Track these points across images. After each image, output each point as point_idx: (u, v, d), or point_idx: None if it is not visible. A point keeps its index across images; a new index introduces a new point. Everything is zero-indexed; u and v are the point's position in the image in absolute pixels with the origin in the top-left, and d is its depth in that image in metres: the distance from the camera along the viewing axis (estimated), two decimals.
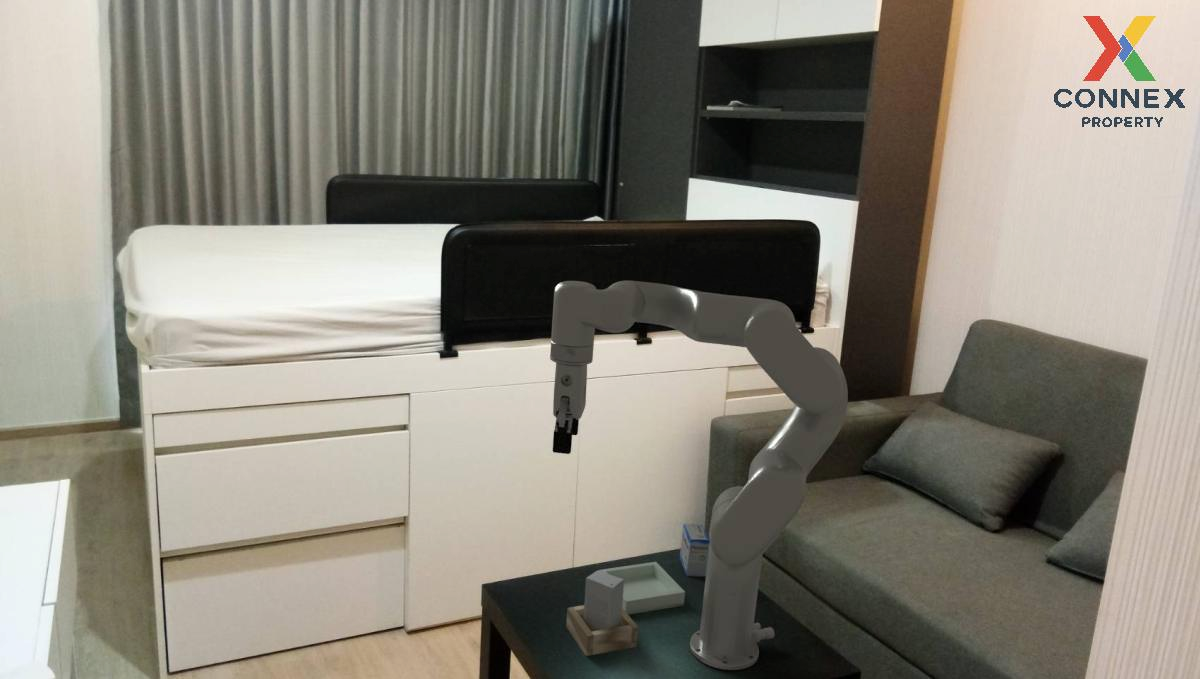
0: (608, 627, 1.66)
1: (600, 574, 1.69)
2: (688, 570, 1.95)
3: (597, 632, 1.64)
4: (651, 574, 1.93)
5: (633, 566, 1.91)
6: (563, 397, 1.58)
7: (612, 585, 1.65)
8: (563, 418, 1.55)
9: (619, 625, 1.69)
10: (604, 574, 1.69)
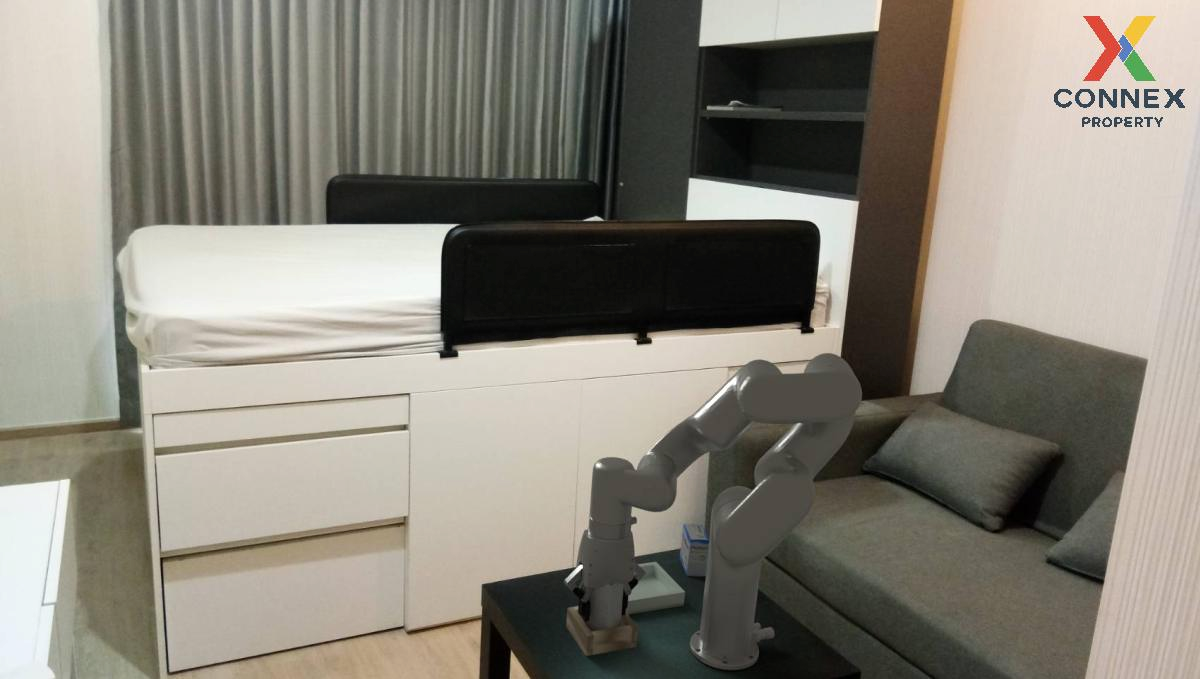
0: (608, 627, 1.66)
1: None
2: (688, 570, 1.95)
3: (597, 632, 1.64)
4: (651, 574, 1.93)
5: None
6: None
7: (612, 585, 1.65)
8: None
9: (619, 625, 1.69)
10: None
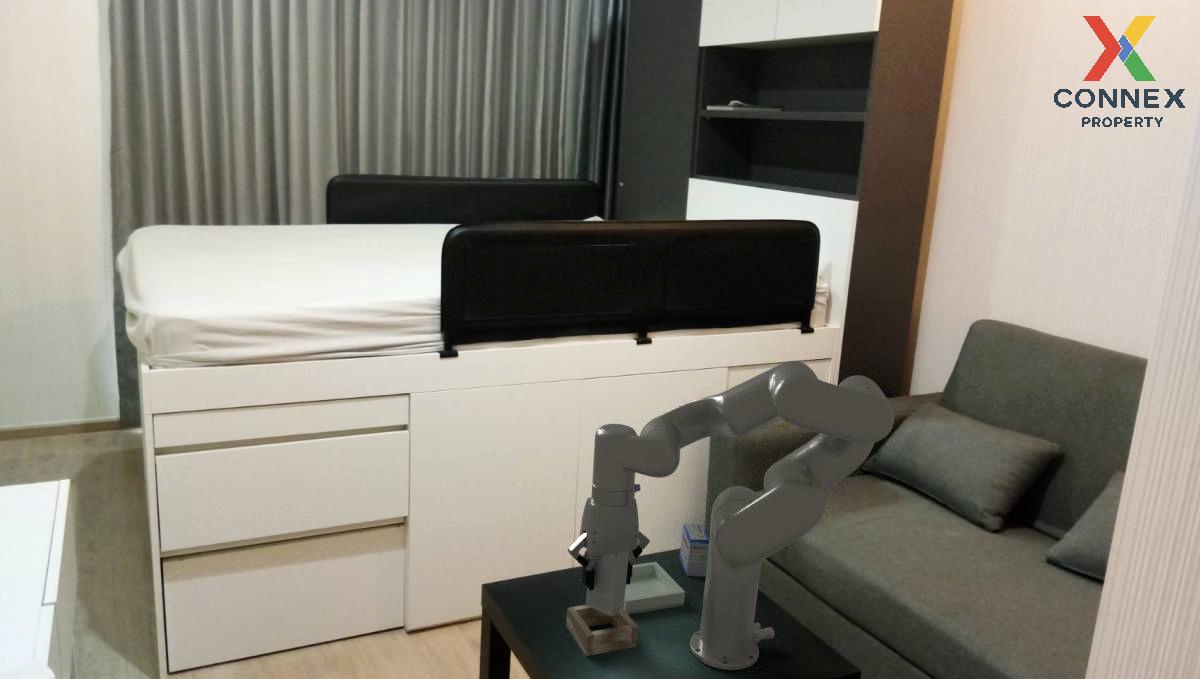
0: (611, 597, 1.65)
1: None
2: (688, 570, 1.95)
3: (597, 632, 1.64)
4: (651, 574, 1.93)
5: (633, 566, 1.91)
6: None
7: (616, 555, 1.63)
8: None
9: (623, 595, 1.67)
10: None
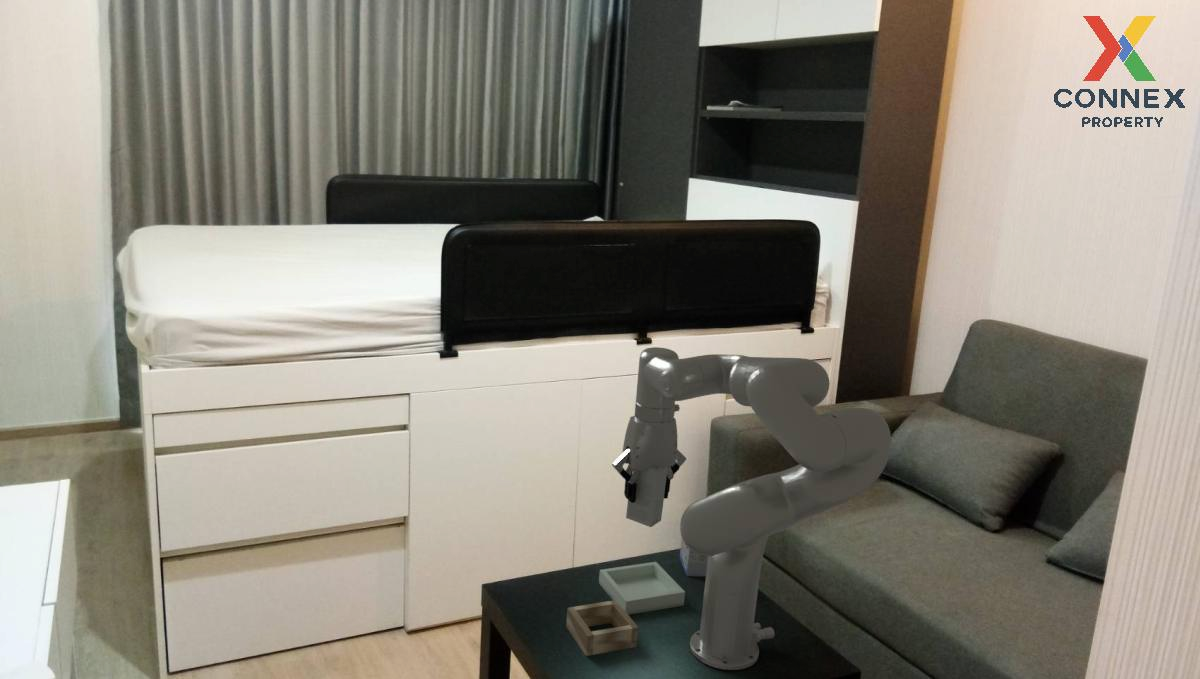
0: (651, 509, 1.77)
1: None
2: (688, 570, 1.95)
3: (597, 632, 1.64)
4: (651, 574, 1.93)
5: (633, 566, 1.91)
6: None
7: (657, 469, 1.76)
8: None
9: (661, 509, 1.80)
10: None
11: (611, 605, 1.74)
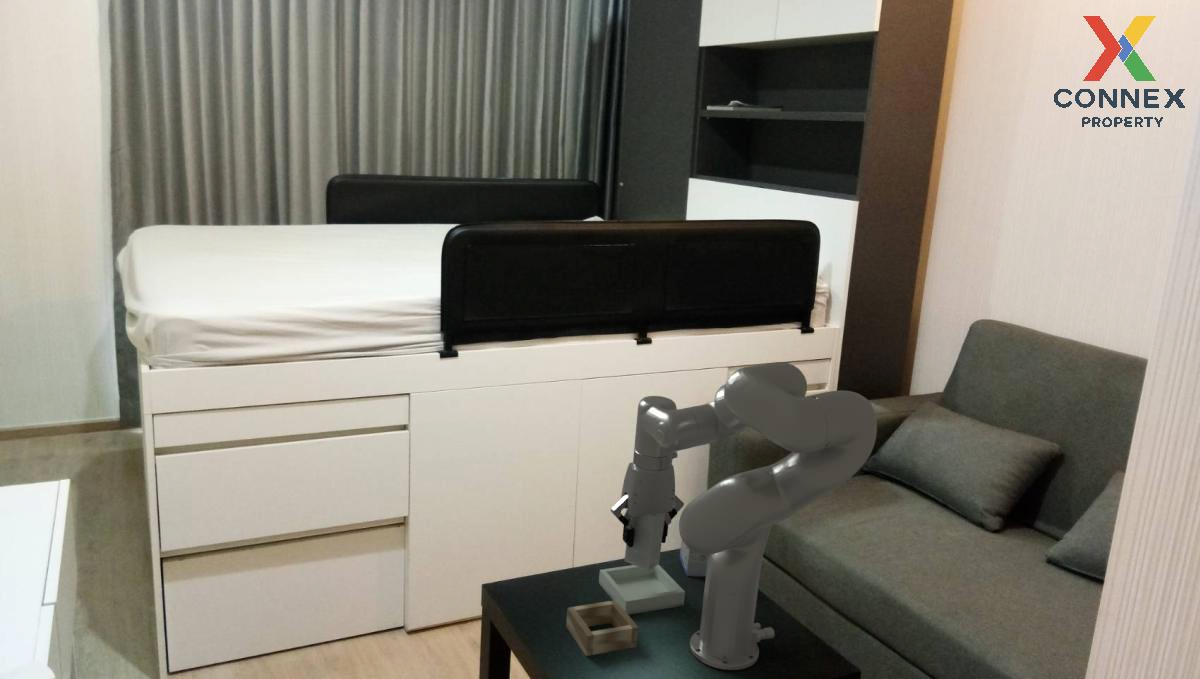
0: (649, 553, 1.81)
1: None
2: (688, 570, 1.95)
3: (597, 632, 1.64)
4: (651, 574, 1.93)
5: (633, 566, 1.91)
6: None
7: (655, 515, 1.79)
8: None
9: (659, 553, 1.84)
10: None
11: (611, 605, 1.74)
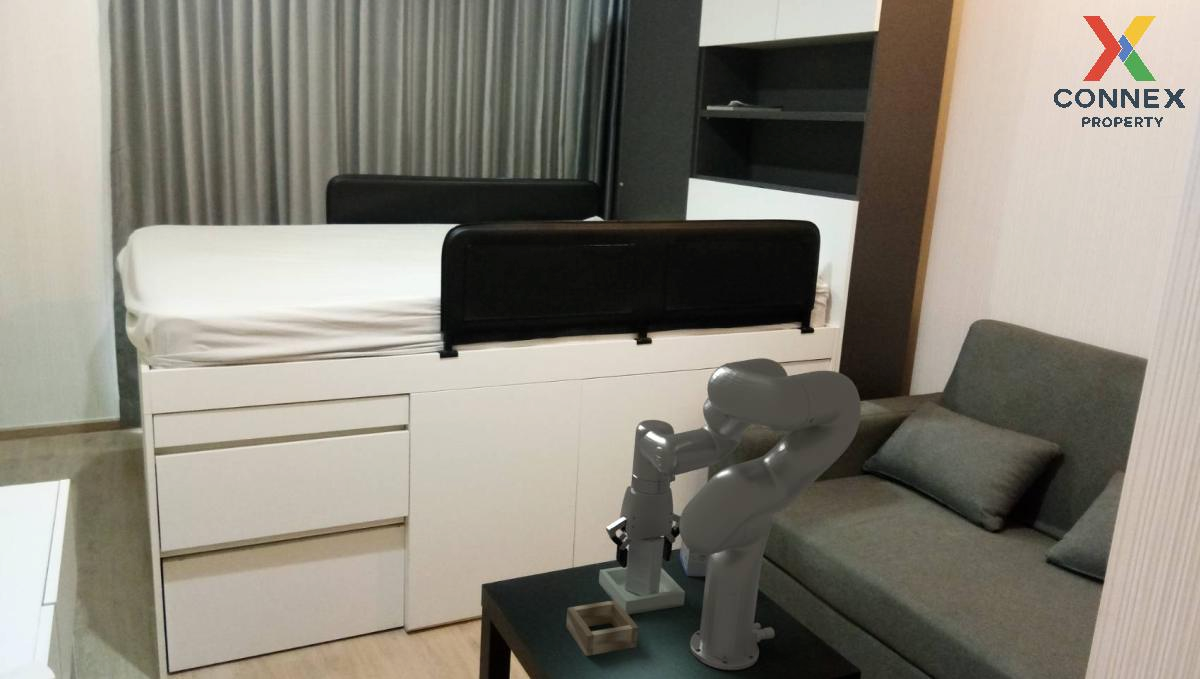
0: (648, 580, 1.82)
1: None
2: (688, 570, 1.95)
3: (597, 632, 1.64)
4: None
5: None
6: None
7: (653, 542, 1.81)
8: None
9: (658, 580, 1.85)
10: None
11: (611, 605, 1.74)
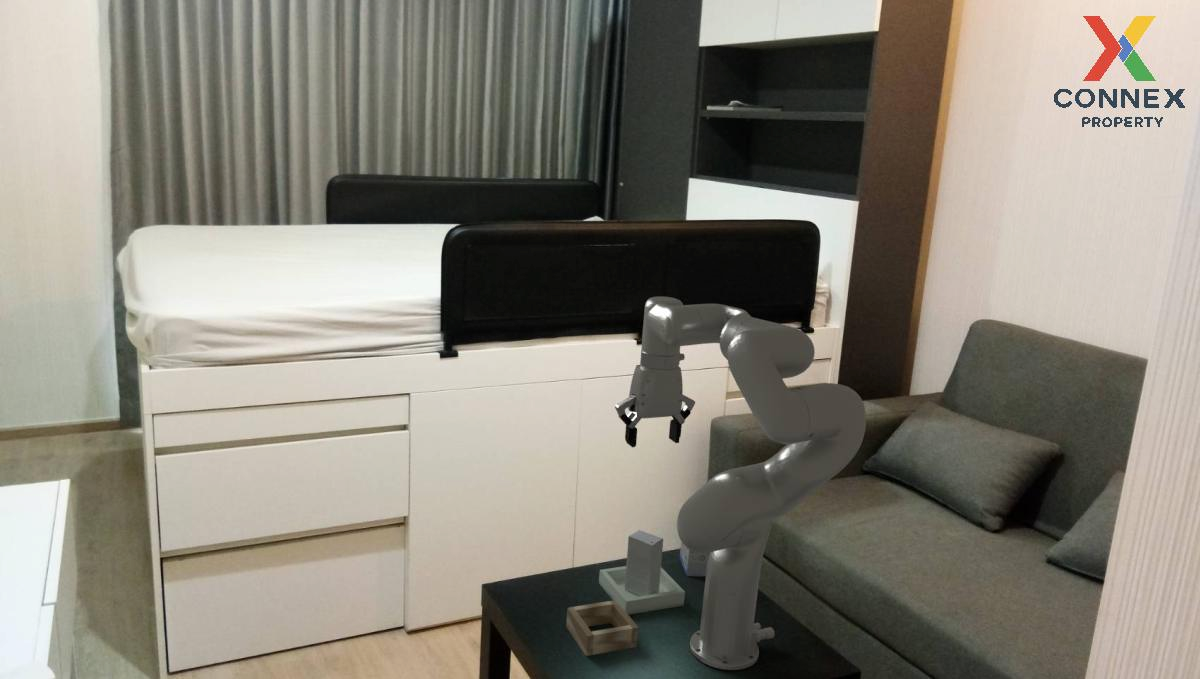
0: (648, 581, 1.82)
1: (641, 533, 1.85)
2: (688, 570, 1.95)
3: (597, 632, 1.64)
4: None
5: None
6: None
7: (652, 543, 1.81)
8: None
9: (658, 580, 1.85)
10: (645, 533, 1.85)
11: (611, 605, 1.74)
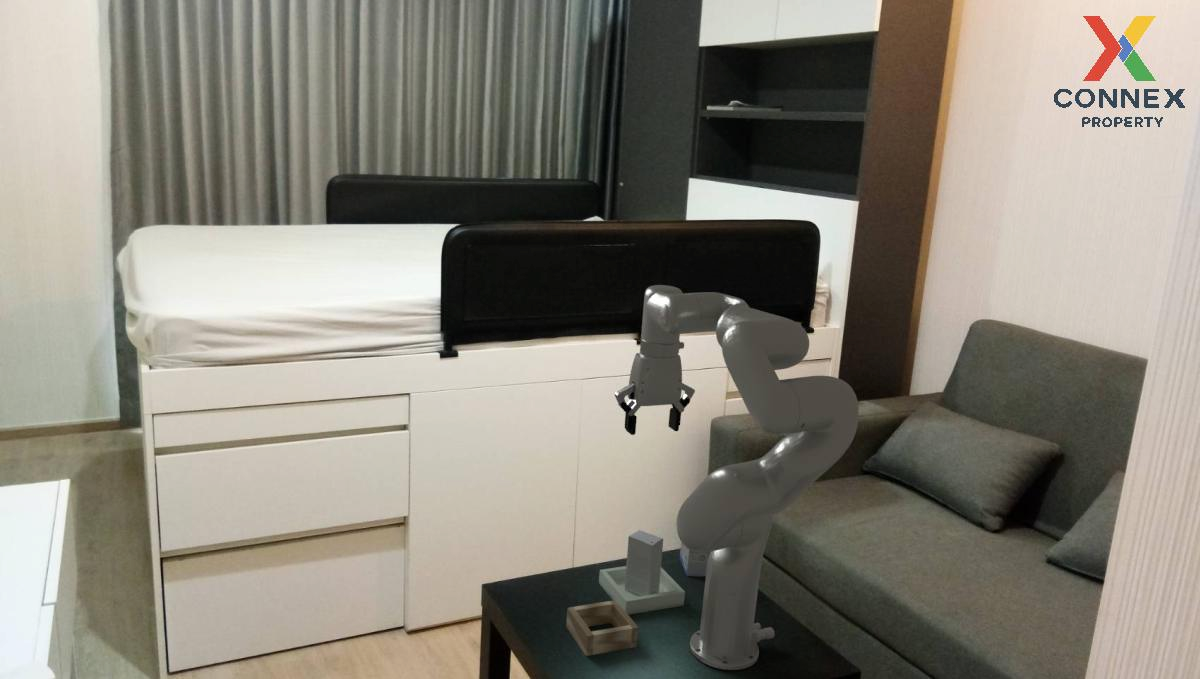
0: (648, 581, 1.82)
1: (641, 533, 1.85)
2: (688, 570, 1.95)
3: (597, 632, 1.64)
4: None
5: None
6: None
7: (652, 543, 1.81)
8: None
9: (658, 580, 1.85)
10: (645, 533, 1.85)
11: (611, 605, 1.74)
